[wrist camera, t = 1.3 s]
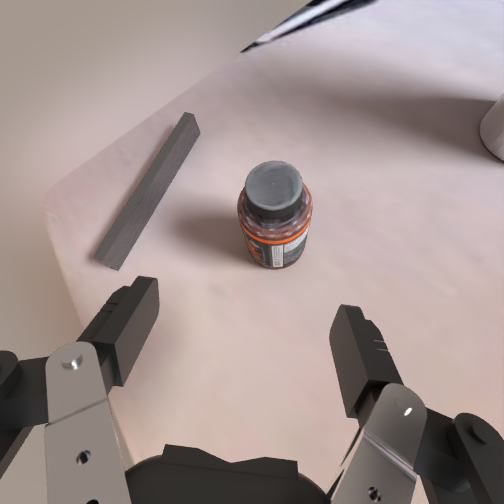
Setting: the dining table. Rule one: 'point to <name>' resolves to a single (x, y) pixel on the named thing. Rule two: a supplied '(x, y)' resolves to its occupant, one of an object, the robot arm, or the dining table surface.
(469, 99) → the dining table surface
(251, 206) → the supplement bottle
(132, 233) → the rail
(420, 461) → the robot arm
